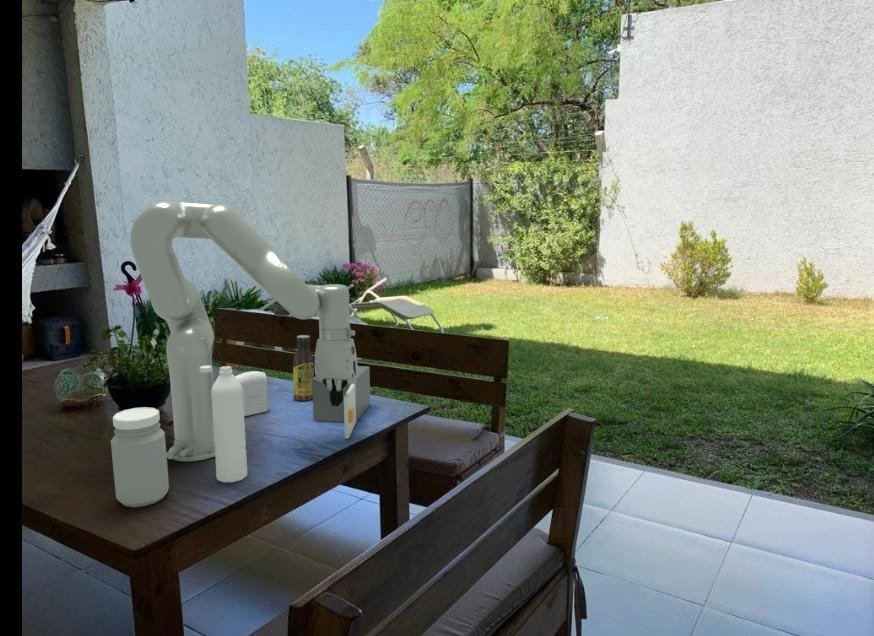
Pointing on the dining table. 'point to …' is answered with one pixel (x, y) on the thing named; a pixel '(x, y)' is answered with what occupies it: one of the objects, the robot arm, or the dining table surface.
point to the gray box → (336, 413)
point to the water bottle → (228, 426)
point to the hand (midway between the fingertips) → (336, 404)
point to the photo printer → (254, 392)
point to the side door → (350, 410)
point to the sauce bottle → (303, 370)
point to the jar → (139, 457)
